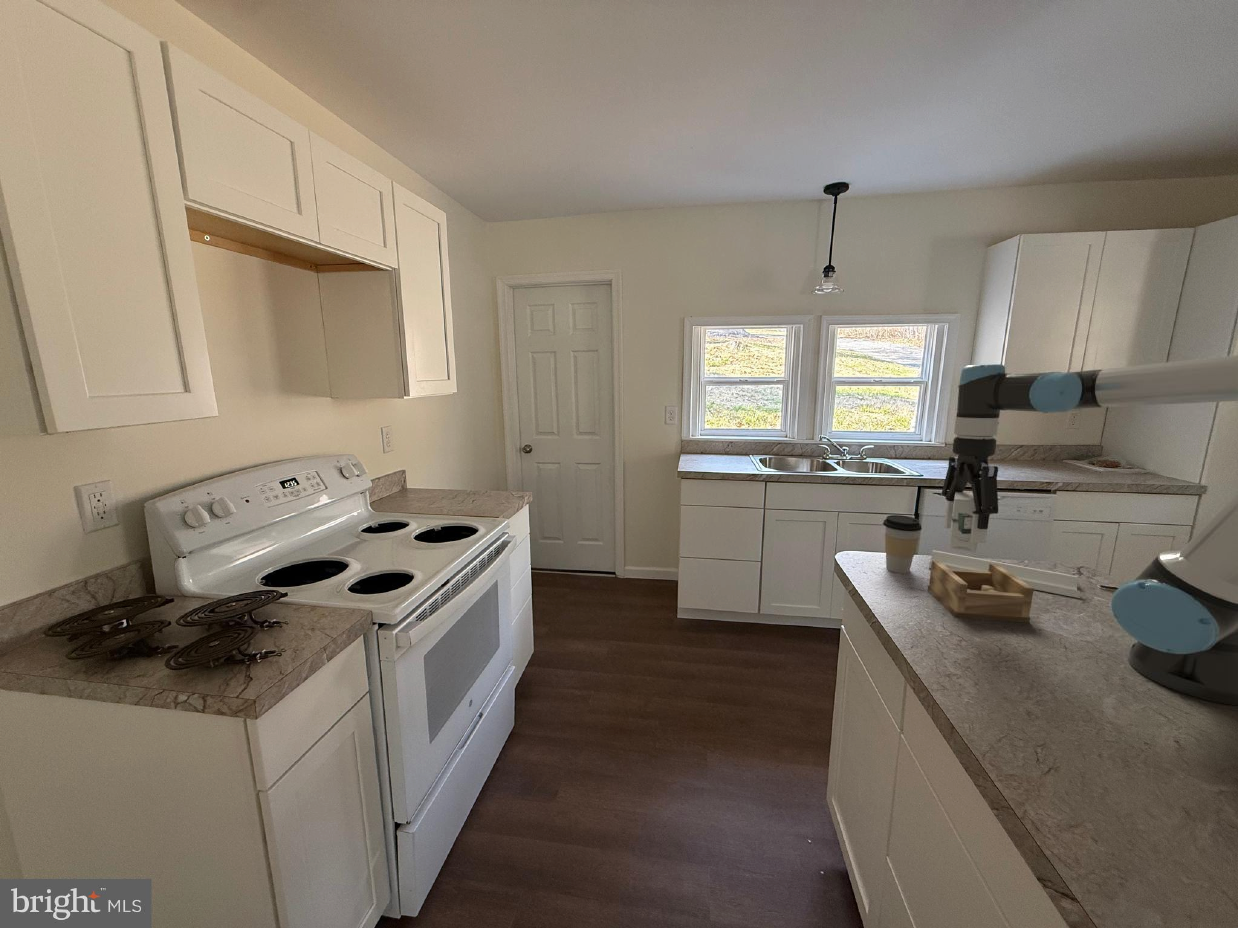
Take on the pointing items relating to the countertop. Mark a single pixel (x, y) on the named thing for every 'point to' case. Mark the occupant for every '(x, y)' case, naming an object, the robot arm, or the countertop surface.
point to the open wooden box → (981, 593)
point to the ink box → (962, 522)
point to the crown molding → (1014, 573)
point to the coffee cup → (900, 542)
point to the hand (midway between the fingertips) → (964, 534)
